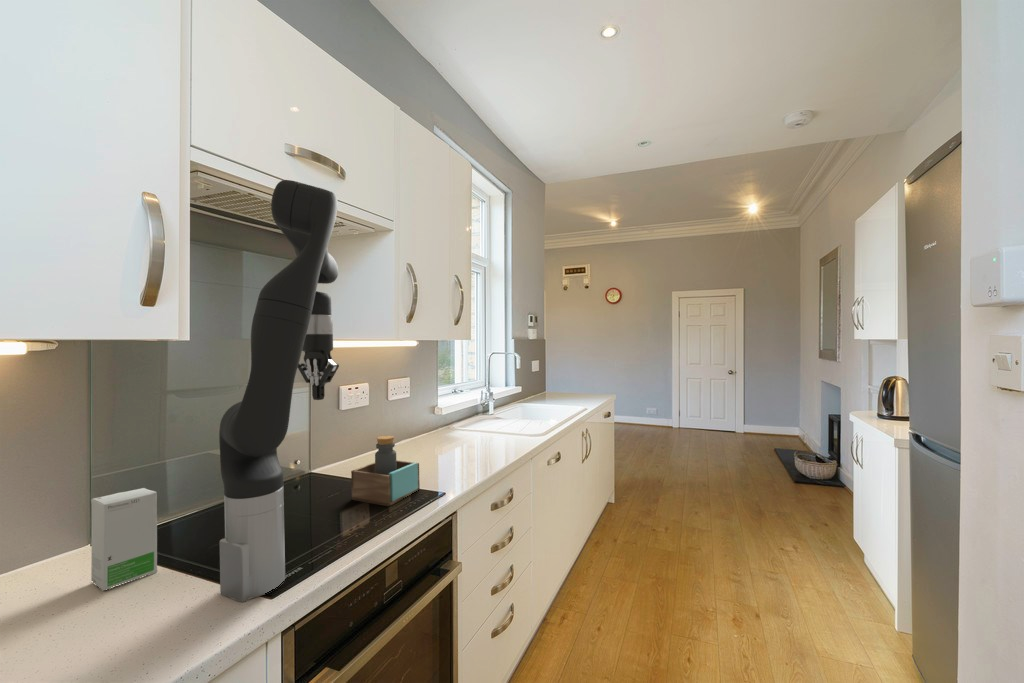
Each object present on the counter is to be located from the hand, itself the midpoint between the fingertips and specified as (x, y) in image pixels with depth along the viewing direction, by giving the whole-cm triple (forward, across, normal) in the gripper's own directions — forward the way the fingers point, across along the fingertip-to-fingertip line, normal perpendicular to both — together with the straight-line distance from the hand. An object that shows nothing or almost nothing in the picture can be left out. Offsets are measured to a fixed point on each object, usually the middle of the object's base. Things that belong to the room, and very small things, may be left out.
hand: (318, 399), depth 114 cm
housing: (+29, -8, -16) cm, 34 cm away
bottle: (+28, -8, -16) cm, 33 cm away
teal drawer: (+28, -9, -16) cm, 33 cm away
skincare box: (+29, +8, +38) cm, 49 cm away
